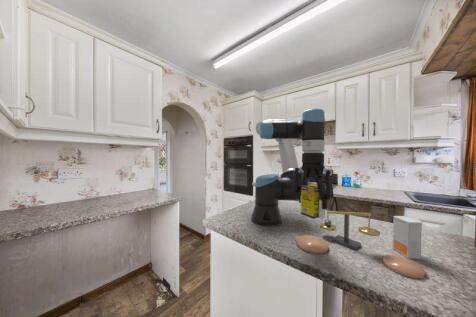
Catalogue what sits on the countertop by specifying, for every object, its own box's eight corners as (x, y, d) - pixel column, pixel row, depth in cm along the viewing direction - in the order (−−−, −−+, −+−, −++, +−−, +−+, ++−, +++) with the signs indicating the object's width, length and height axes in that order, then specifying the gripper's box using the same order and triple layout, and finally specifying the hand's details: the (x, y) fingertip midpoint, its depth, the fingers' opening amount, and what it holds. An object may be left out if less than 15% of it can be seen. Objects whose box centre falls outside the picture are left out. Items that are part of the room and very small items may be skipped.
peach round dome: (290, 243, 65) (290, 240, 65) (306, 235, 72) (306, 232, 71) (318, 257, 56) (318, 254, 56) (334, 247, 63) (334, 243, 63)
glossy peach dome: (378, 265, 52) (378, 261, 52) (387, 255, 58) (387, 251, 58) (422, 283, 45) (422, 278, 45) (427, 269, 50) (427, 265, 50)
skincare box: (392, 248, 62) (392, 215, 61) (404, 248, 62) (405, 215, 61) (408, 258, 56) (409, 222, 55) (421, 259, 56) (422, 222, 55)
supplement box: (313, 219, 60) (313, 187, 59) (300, 214, 65) (300, 185, 65) (325, 216, 62) (325, 186, 62) (311, 211, 68) (311, 184, 67)
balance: (316, 235, 72) (317, 203, 71) (324, 231, 75) (324, 201, 75) (376, 259, 55) (377, 217, 55) (382, 252, 59) (382, 213, 59)
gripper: (284, 152, 69) (284, 209, 69) (336, 151, 53) (335, 226, 53) (296, 152, 73) (295, 206, 74) (346, 152, 57) (345, 220, 58)
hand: (312, 214), depth 63 cm, fingers closed on supplement box, 7 cm apart
